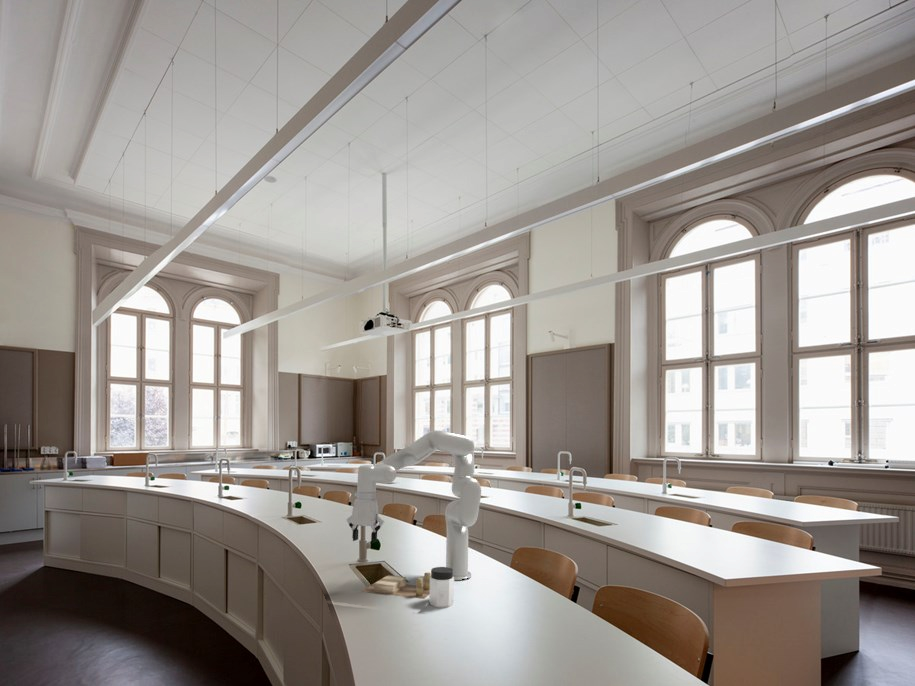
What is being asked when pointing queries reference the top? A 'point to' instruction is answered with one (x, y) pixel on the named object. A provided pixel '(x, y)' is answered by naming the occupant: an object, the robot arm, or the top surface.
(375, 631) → the top surface
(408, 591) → the board
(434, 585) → the jar
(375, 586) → the cream rectangular slab
